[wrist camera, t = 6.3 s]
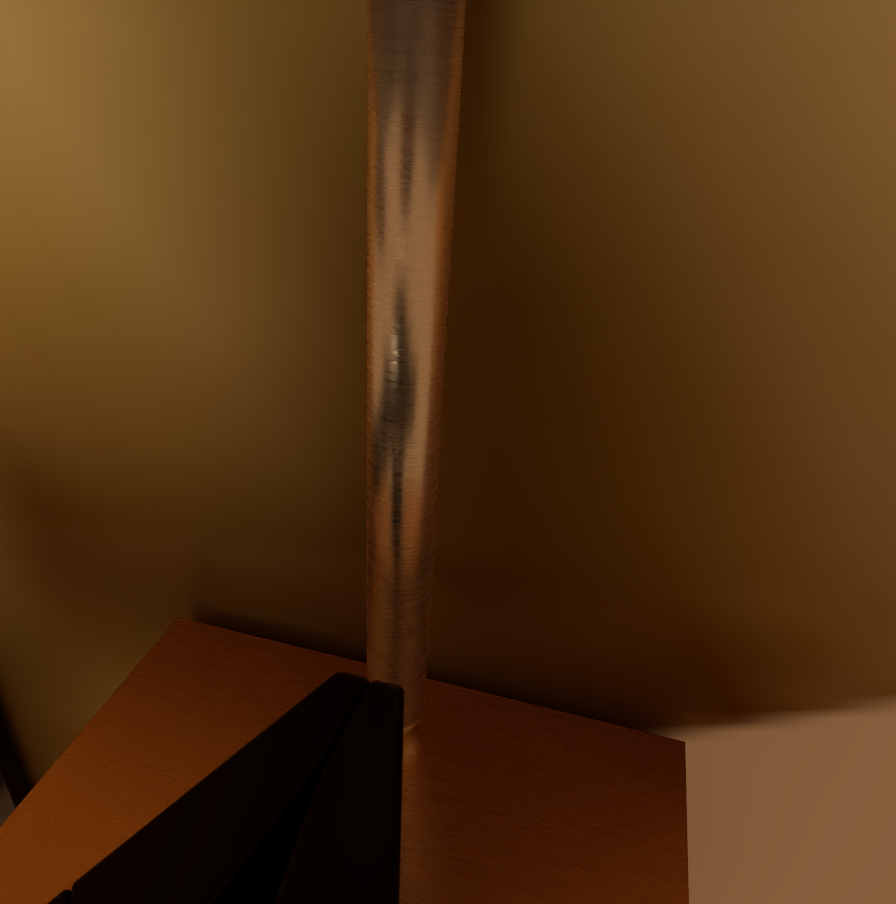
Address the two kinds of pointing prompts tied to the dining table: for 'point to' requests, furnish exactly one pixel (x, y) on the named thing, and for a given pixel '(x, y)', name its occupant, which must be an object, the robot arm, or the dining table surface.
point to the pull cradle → (385, 614)
